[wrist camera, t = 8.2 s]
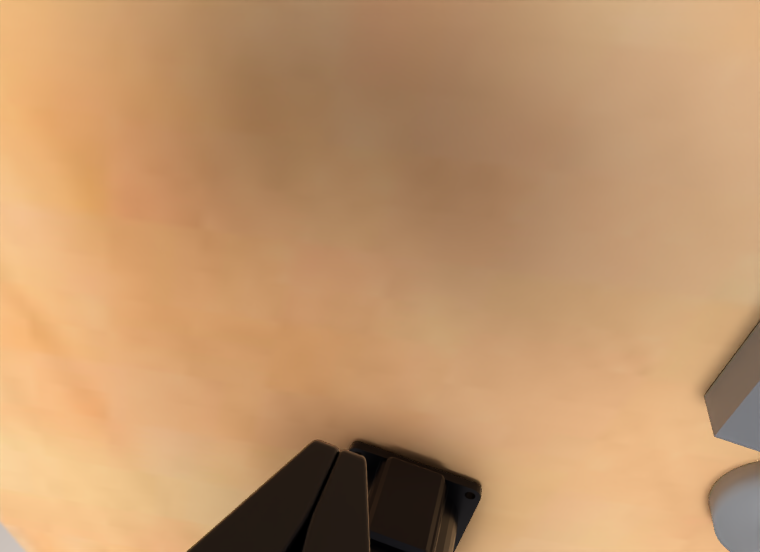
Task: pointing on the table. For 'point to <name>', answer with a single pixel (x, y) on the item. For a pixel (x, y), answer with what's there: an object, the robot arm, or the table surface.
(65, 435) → the table surface
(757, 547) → the stand
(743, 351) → the panel
